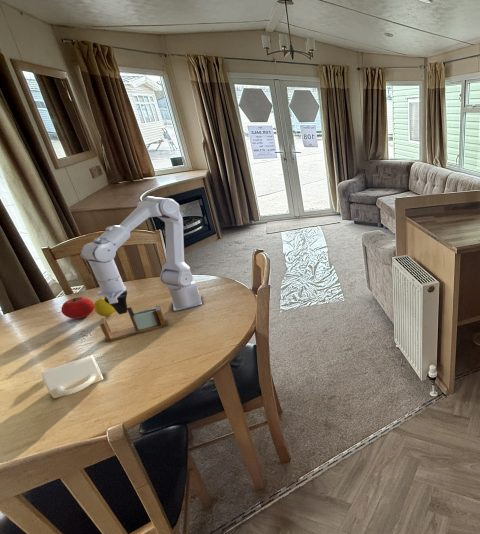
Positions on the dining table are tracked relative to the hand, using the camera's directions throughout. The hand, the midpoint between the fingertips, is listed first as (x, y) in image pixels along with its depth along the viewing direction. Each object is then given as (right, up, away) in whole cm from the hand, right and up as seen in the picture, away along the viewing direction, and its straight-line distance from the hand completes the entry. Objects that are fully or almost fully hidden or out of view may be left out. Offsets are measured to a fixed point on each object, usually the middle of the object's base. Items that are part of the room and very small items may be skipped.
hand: (123, 312), depth 117 cm
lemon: (-18, -3, +13) cm, 22 cm away
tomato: (-28, -3, +13) cm, 31 cm away
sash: (+3, -6, +6) cm, 9 cm away
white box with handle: (+7, -19, -21) cm, 29 cm away
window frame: (0, -7, +5) cm, 9 cm away
